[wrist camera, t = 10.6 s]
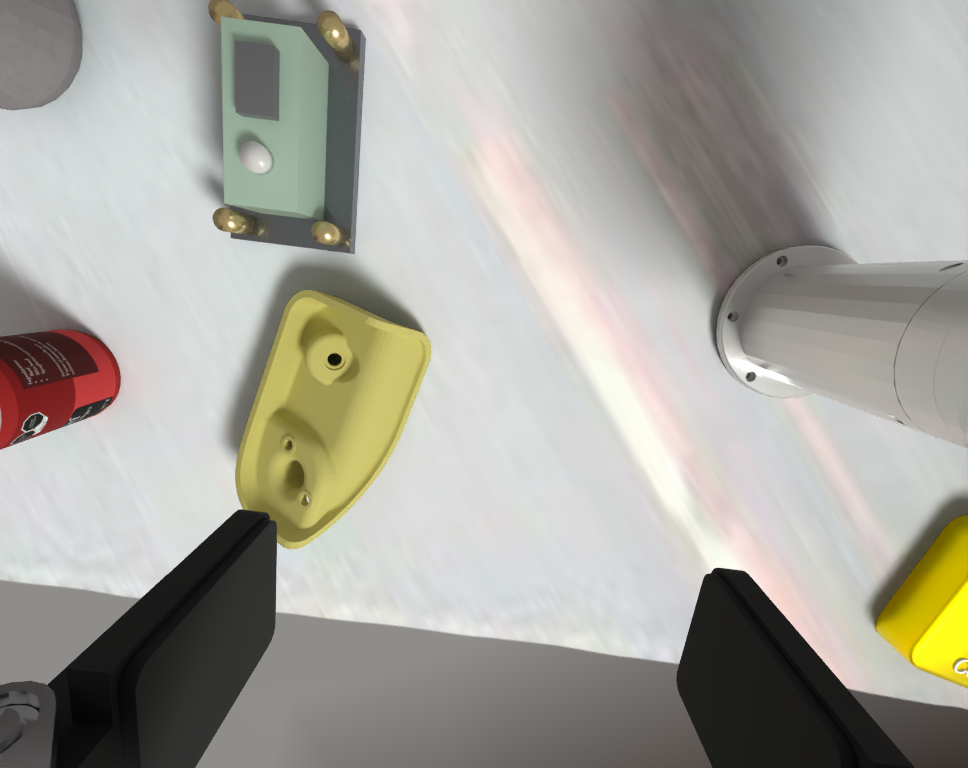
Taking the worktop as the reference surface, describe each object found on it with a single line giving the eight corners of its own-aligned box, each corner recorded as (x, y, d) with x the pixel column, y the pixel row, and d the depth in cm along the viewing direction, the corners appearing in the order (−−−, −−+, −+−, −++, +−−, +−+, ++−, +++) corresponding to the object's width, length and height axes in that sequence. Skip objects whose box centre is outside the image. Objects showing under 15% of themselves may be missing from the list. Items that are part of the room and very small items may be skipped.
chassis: (365, 38, 33) (348, 5, 29) (354, 253, 37) (337, 251, 33) (237, 21, 33) (202, -14, 29) (239, 239, 37) (207, 234, 33)
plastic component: (293, 281, 36) (389, 326, 32) (354, 298, 42) (439, 337, 39) (221, 498, 39) (301, 562, 35) (289, 482, 45) (362, 534, 42)
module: (328, 63, 33) (293, 18, 27) (323, 220, 35) (290, 210, 30) (260, 54, 33) (210, 7, 27) (260, 213, 35) (215, 200, 29)
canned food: (47, 413, 41) (-109, 462, 30) (29, 326, 39) (-145, 345, 28) (131, 416, 41) (3, 467, 30) (116, 329, 39) (-25, 349, 28)
